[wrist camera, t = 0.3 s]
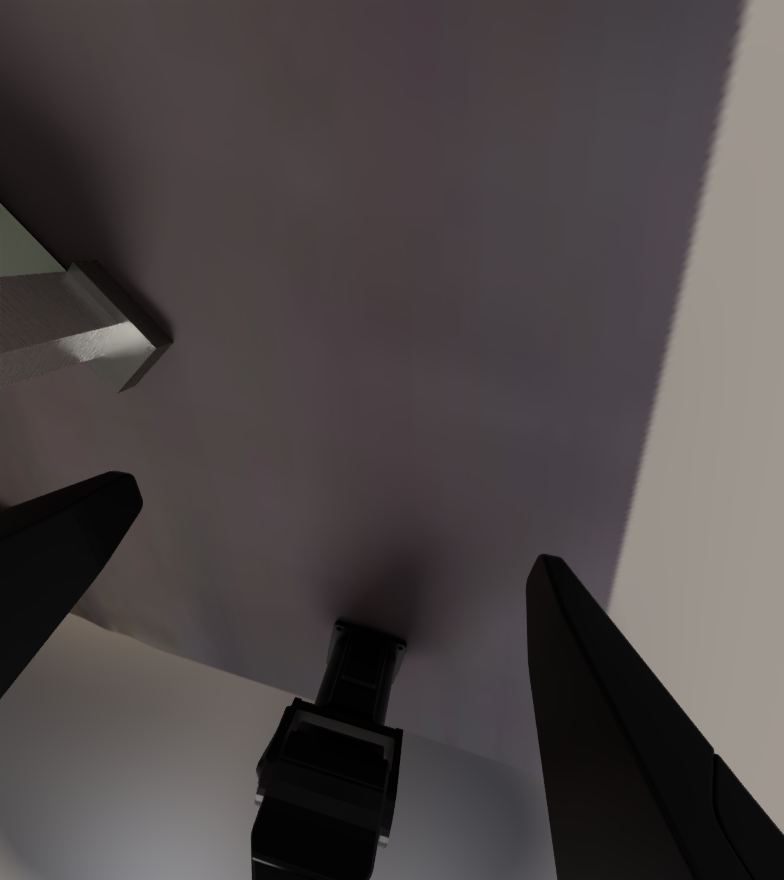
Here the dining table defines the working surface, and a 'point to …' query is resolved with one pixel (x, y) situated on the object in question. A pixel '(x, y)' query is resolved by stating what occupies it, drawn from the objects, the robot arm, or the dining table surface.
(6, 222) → the door panel
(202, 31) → the dining table surface
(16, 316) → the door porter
